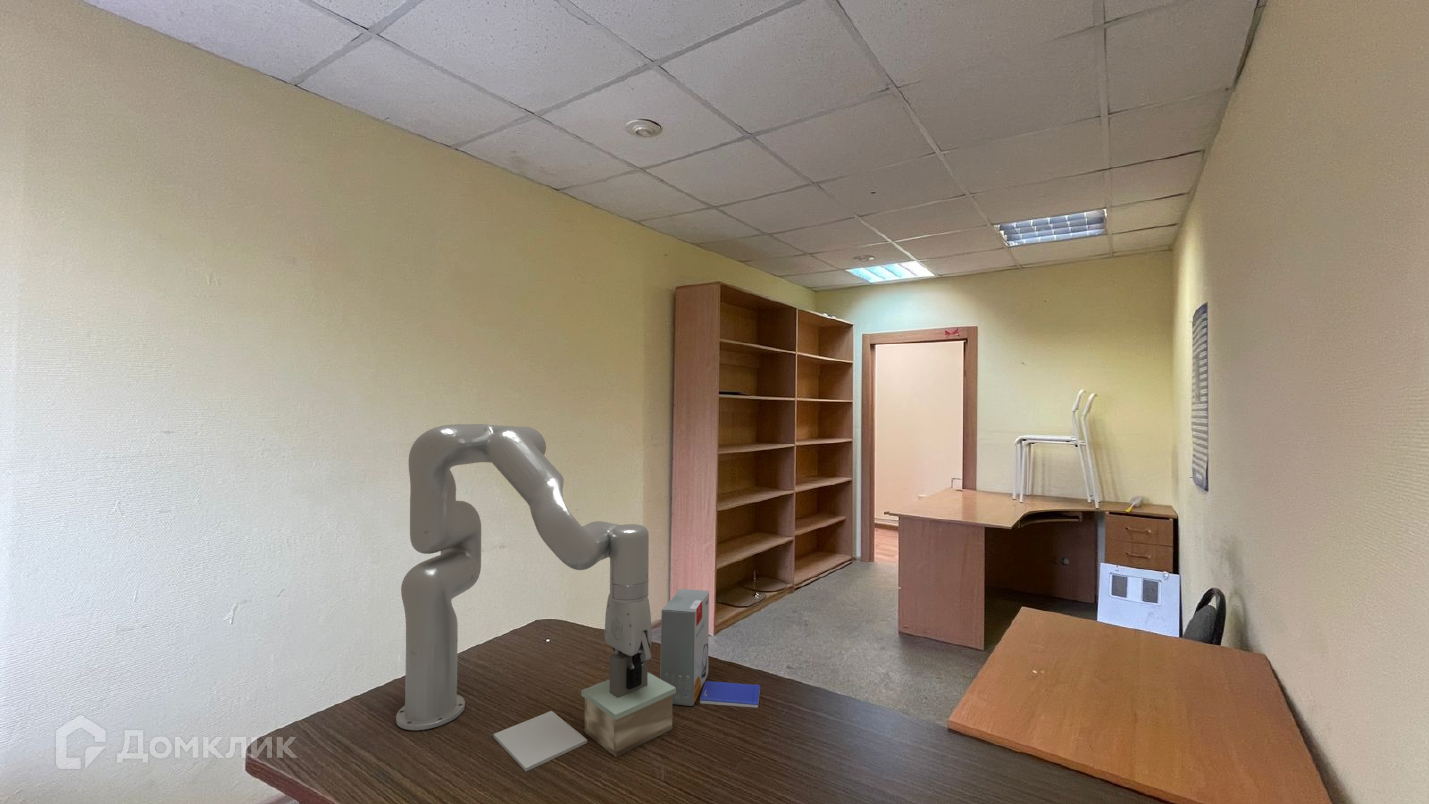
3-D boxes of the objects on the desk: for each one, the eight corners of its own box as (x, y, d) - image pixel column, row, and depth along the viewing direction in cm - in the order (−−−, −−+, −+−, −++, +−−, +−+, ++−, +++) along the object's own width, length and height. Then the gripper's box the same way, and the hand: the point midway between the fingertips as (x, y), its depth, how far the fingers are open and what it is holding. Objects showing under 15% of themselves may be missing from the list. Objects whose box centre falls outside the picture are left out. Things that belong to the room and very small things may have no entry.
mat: (493, 737, 105) (493, 734, 105) (551, 713, 113) (551, 710, 113) (525, 771, 95) (525, 768, 95) (587, 743, 103) (587, 739, 103)
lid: (581, 700, 107) (581, 654, 107) (639, 677, 116) (639, 634, 117) (615, 726, 98) (615, 675, 98) (675, 698, 108) (676, 651, 108)
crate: (584, 732, 106) (584, 695, 107) (639, 707, 115) (639, 673, 116) (616, 757, 99) (616, 718, 99) (672, 729, 108) (672, 692, 108)
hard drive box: (693, 708, 115) (694, 612, 116) (659, 704, 117) (659, 609, 117) (709, 673, 131) (709, 589, 131) (678, 670, 132) (678, 587, 133)
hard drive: (700, 698, 117) (757, 702, 115) (705, 680, 125) (760, 684, 124) (699, 705, 117) (757, 710, 115) (705, 687, 125) (760, 691, 124)
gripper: (590, 584, 111) (590, 675, 110) (638, 604, 99) (637, 706, 99) (621, 576, 116) (621, 664, 116) (670, 594, 104) (669, 692, 104)
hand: (628, 682), depth 107 cm, fingers closed on lid, 2 cm apart
